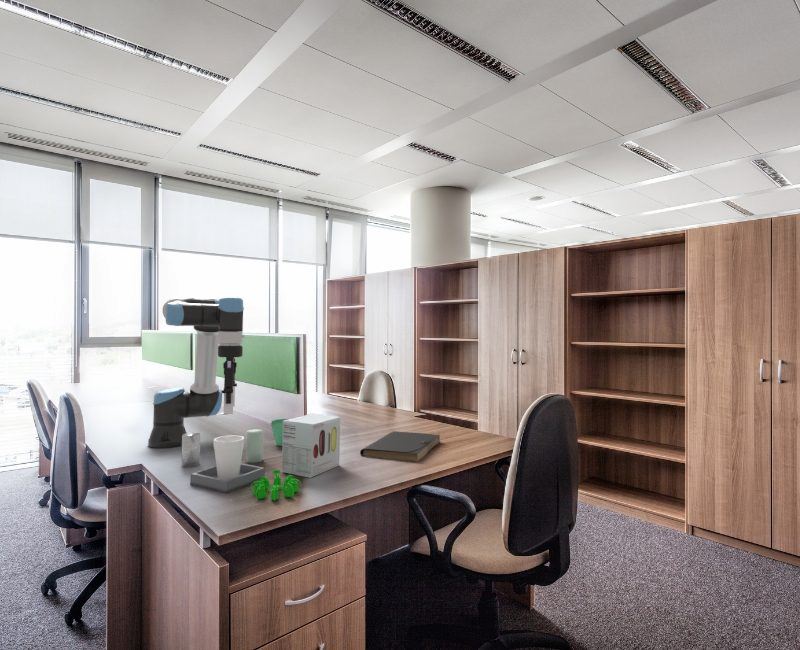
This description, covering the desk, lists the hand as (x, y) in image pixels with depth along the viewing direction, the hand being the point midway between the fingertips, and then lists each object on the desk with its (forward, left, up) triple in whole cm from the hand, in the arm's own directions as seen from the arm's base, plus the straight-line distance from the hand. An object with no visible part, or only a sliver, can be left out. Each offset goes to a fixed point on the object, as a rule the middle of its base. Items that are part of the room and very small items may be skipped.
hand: (229, 410), depth 149 cm
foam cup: (0, 0, -23) cm, 23 cm away
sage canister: (-10, +22, -23) cm, 33 cm away
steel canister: (-26, +6, -23) cm, 35 cm away
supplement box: (+15, +24, -23) cm, 37 cm away
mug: (-15, +46, -23) cm, 54 cm away
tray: (0, 0, -23) cm, 23 cm away
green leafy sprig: (+21, -1, -24) cm, 32 cm away
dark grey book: (+31, +65, -24) cm, 76 cm away
